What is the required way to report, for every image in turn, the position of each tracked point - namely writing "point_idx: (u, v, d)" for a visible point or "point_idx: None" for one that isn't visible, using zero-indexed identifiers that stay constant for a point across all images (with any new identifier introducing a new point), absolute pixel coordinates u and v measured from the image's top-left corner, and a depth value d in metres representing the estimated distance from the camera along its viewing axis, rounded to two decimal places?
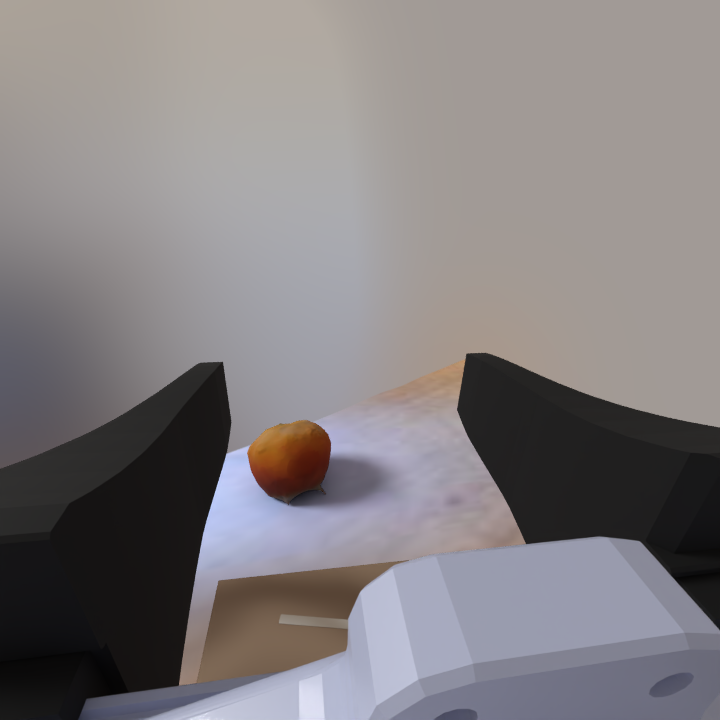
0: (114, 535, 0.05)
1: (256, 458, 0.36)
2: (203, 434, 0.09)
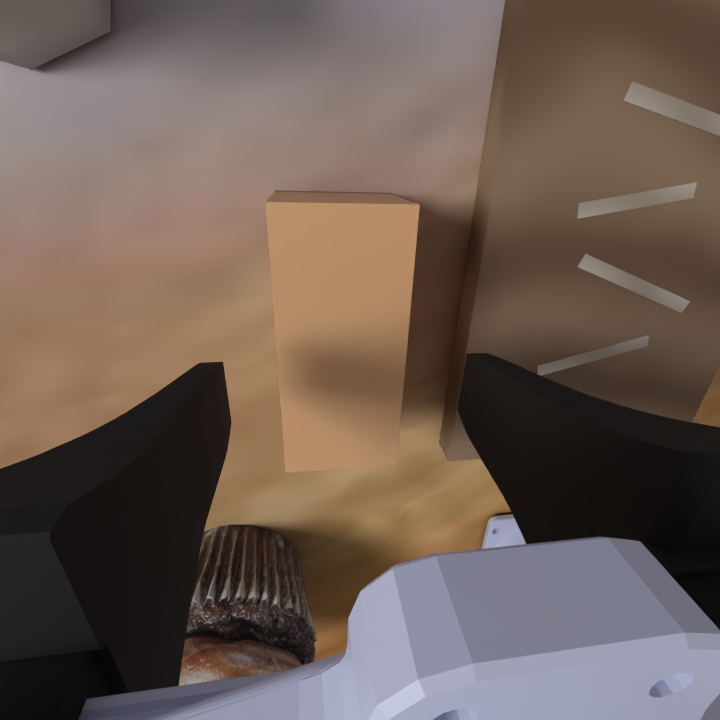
0: (114, 535, 0.05)
1: None
2: (203, 435, 0.09)
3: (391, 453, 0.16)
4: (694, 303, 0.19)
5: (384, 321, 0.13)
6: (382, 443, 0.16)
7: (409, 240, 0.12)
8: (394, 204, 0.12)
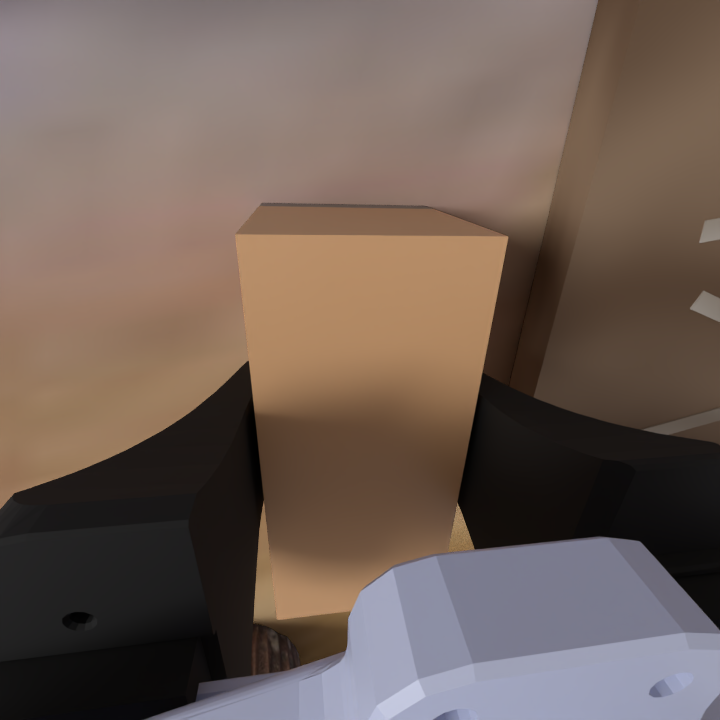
0: (217, 526, 0.05)
1: None
2: None
3: None
4: None
5: (435, 418, 0.08)
6: None
7: (485, 295, 0.07)
8: (464, 236, 0.07)
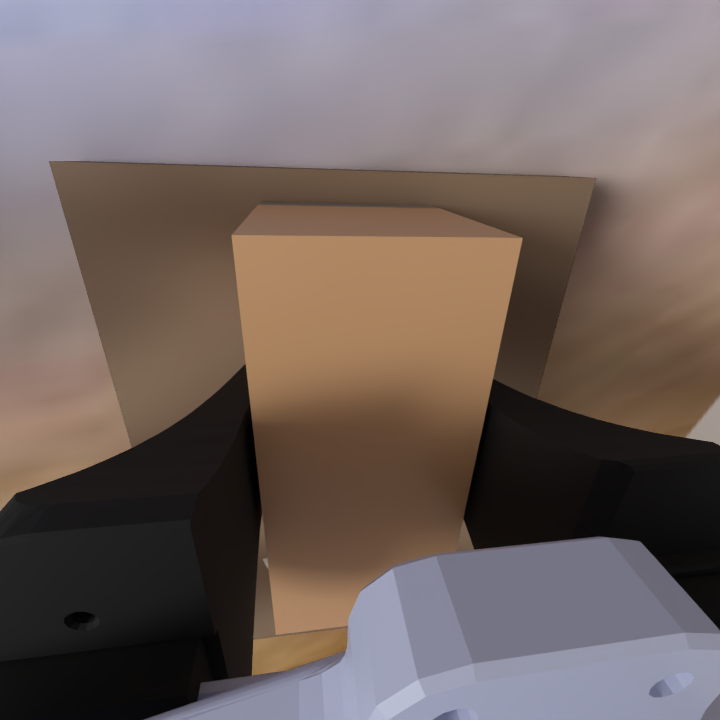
0: (218, 526, 0.05)
1: None
2: None
3: None
4: None
5: (442, 429, 0.08)
6: None
7: (497, 300, 0.07)
8: (476, 237, 0.06)
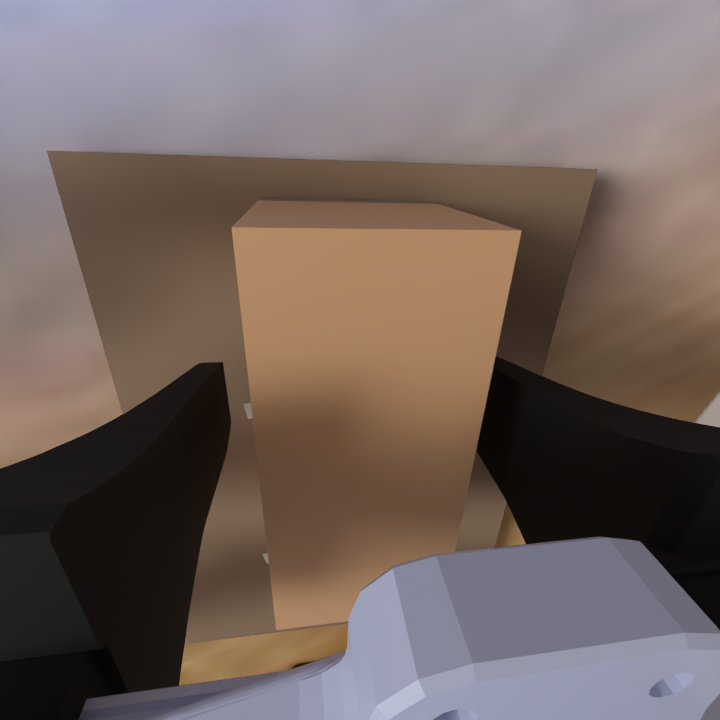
0: (114, 535, 0.05)
1: None
2: (203, 435, 0.09)
3: None
4: None
5: (442, 422, 0.08)
6: None
7: (496, 293, 0.07)
8: (475, 230, 0.06)
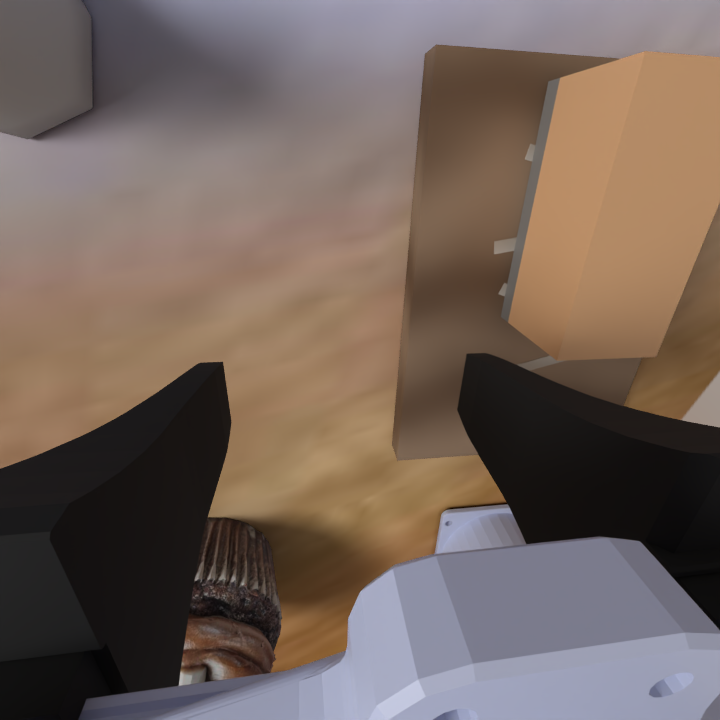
0: (114, 535, 0.05)
1: None
2: (203, 435, 0.09)
3: (655, 343, 0.16)
4: None
5: (701, 192, 0.14)
6: (651, 331, 0.16)
7: None
8: None
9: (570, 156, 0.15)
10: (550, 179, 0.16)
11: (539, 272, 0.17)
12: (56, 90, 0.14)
